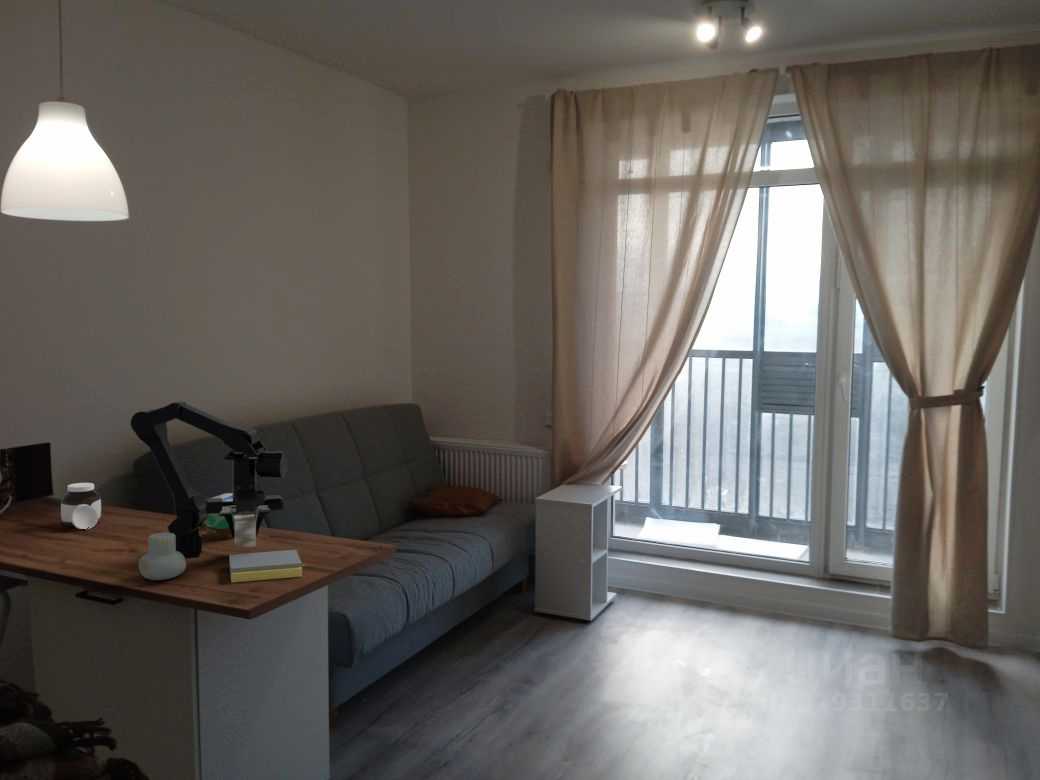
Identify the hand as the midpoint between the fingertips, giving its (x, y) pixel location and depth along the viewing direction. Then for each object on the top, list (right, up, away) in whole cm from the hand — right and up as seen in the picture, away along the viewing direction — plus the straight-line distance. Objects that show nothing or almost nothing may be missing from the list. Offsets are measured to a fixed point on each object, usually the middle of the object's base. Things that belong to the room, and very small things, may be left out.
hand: (244, 537), depth 215 cm
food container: (-13, -4, +18) cm, 22 cm away
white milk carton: (0, -2, 0) cm, 2 cm away
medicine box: (-17, -2, +33) cm, 37 cm away
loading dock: (+9, -6, -11) cm, 15 cm away
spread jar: (-55, -2, +27) cm, 62 cm away
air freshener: (-14, -7, -17) cm, 23 cm away
